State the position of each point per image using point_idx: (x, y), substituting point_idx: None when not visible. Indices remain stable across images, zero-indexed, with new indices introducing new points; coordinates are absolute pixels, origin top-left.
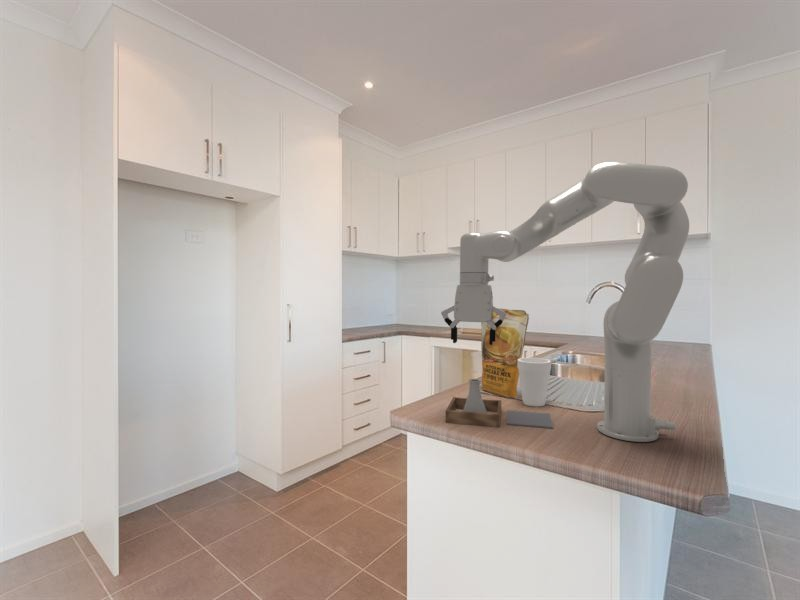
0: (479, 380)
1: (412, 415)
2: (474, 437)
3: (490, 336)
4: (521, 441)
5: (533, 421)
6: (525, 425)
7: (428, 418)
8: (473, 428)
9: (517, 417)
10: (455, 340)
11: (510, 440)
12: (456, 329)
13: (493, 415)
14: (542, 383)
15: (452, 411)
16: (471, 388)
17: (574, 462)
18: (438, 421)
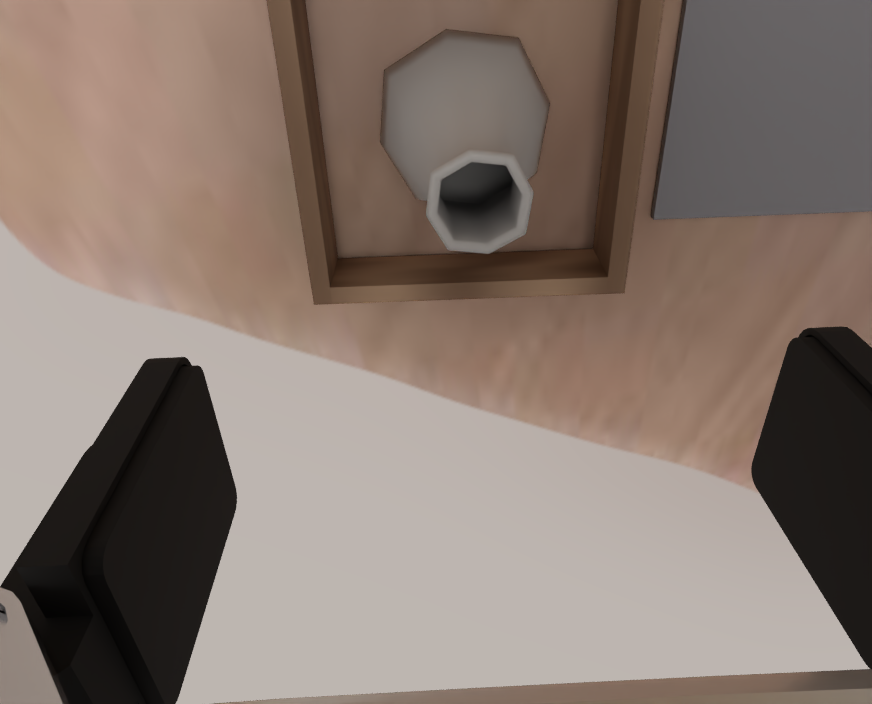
0: (524, 204)
1: (97, 212)
2: (491, 407)
3: (825, 582)
4: (684, 396)
5: (817, 145)
6: (751, 214)
7: (209, 236)
8: (477, 313)
9: (736, 94)
10: (227, 529)
11: (640, 398)
12: (152, 640)
13: (588, 292)
14: None
15: (354, 301)
16: (453, 219)
17: None
18: (281, 267)
